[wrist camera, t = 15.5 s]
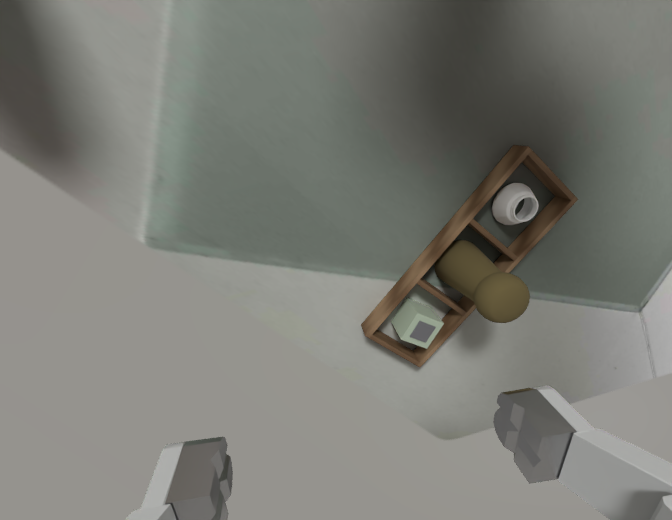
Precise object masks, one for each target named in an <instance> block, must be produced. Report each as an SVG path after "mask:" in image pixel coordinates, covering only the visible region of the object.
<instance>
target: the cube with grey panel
mask: <svg viewBox="0 0 672 520" xmlns="http://www.w3.org/2000/svg"><path fill="white" fill-rule="evenodd" d="M391 322H392V324H393V326H394V328H395V330H396V332H397V333H398V335H399V337H400V339H401V340H404V341H407V342H409V343H412V344H415V345H418V346H421V347H423V348H426V349H427V348H428V347H429V345H430V344H431V342H432V341H433V339H434V338H435V336H436V335H437V333H438V332H439V330H440V329H441V327H442V326H443V324H444V323H443V322H442V320H441V319H440V318H439V317H438V315H437V314H436V313H435V312H434V310H433V309H432V308H431V307H429V306H427V305H424V304H422V303H419V302H417V301H414V300H412V299H409V298H407V297H406V299H405V300H404V302H403V304H402V305H401V307H400V308H399V310H398V312H397V313H396V315H395V316H394V318H393V320H392V321H391Z"/></svg>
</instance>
